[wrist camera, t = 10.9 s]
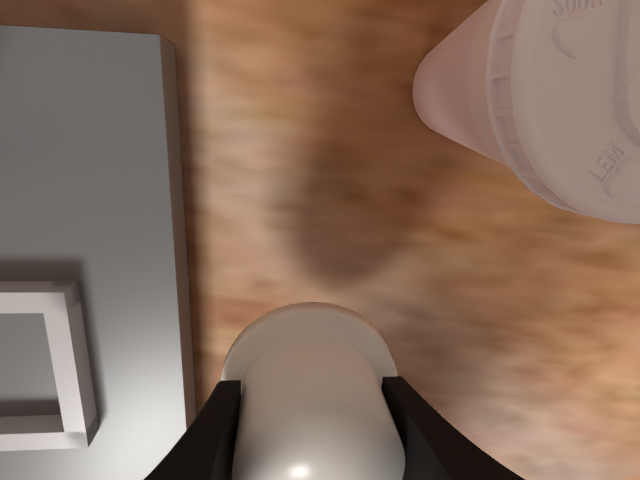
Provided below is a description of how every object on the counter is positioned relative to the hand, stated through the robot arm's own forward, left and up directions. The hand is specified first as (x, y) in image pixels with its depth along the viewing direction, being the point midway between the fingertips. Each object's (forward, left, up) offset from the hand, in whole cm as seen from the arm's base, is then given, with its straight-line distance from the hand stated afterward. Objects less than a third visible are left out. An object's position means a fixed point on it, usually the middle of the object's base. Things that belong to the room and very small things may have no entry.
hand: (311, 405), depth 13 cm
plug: (0, 0, -2) cm, 2 cm away
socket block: (+1, +12, -6) cm, 14 cm away
